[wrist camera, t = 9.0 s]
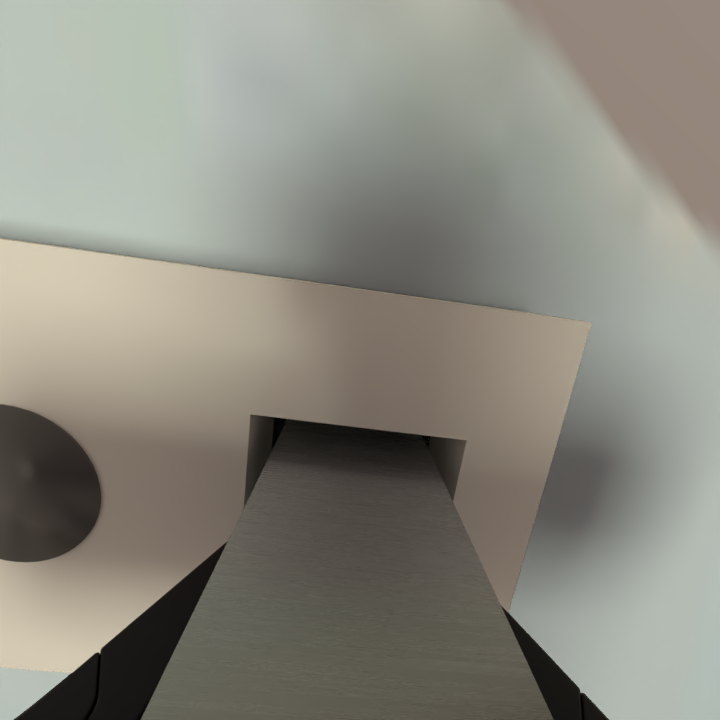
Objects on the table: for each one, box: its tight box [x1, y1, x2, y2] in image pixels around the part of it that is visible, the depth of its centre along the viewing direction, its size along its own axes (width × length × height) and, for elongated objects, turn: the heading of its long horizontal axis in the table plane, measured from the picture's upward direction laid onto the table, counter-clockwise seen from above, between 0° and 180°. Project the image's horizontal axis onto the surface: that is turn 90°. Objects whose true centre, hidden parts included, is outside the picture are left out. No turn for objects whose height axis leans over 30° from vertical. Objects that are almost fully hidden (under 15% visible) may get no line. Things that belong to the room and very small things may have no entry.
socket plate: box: [0, 238, 592, 673], centre depth 10 cm, size 12×18×3 cm, turn 82°
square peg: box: [141, 419, 554, 720], centre depth 6 cm, size 4×4×8 cm
